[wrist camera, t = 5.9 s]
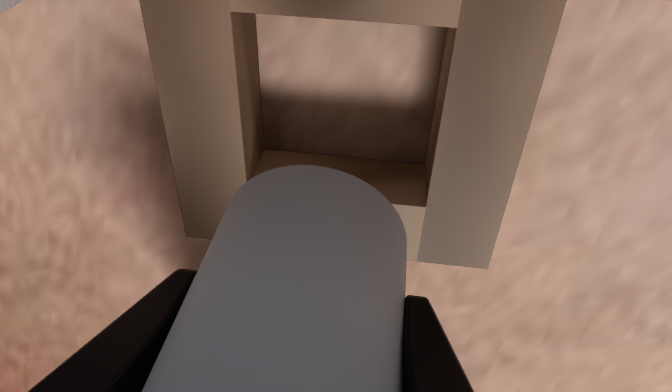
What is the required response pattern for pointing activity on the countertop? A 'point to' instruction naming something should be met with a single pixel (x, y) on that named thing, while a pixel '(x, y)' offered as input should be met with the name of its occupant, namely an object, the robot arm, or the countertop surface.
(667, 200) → the countertop surface
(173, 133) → the socket block
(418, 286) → the countertop surface
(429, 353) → the robot arm
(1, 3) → the thin grey panel
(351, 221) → the peg
